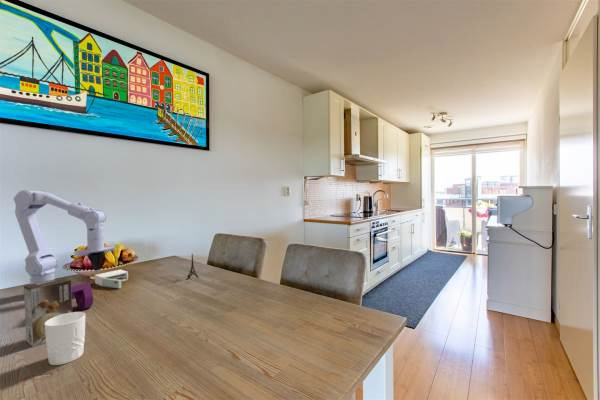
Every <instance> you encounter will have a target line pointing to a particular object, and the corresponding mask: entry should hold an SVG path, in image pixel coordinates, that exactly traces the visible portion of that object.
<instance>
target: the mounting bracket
mask: <svg viewBox="0 0 600 400" xmlns="http://www.w3.org/2000/svg"><path fill="white" fill-rule="evenodd" d="M71 290H72V300H74V299H75V303H76V305H77V308H78V309H80V310H82V311H83V310H86V309H90V308H91V307H92V306H93V303H94V294H93V290H92V286H91V282H89V281H88V282H85V283H81V284H76V285H73V286H72V285H71Z"/></svg>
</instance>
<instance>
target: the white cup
mask: <svg viewBox="0 0 600 400" xmlns="http://www.w3.org/2000/svg"><path fill="white" fill-rule="evenodd" d="M44 325H45V336H46V343H45V345H46V352H47V358H48V359H47V360H48V364H50V366H60V365H64V364H65V365H66V364H68V363H71V362H73V361H75V360H77V359H79V358H81V356H83V354H84V351H85V350H84V349H85V338H86V313H85V312H83V311H74V312H73V311H72V313H66V314H62V315H59V316H56V317H53V318H51V319H49V320H47V321H46V322H45V323H44Z"/></svg>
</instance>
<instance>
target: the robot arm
mask: <svg viewBox="0 0 600 400" xmlns="http://www.w3.org/2000/svg"><path fill="white" fill-rule="evenodd" d="M13 201H14V204H15V210H14V214H15V217H16V220H17V223H18V226H19V228H20V229H19V230H20V232H21V234H22V237H23V240H24V242H25V245H26V248H27V251H28V254H27V256H26V258H25V259H24V262H25V267H24V269H25V271H26V273H27V274H28V275H29V277H30V278H29V285H30V284H35V283H39V282H44V281H49V280H54V279H56V278H55V275H56V274H55V271H56V269H57V267H58V266H59V263H60V262H59V259H58V257H57V256H56V255H55V253H54V252H53V251H52V250H50V249H48V248H47V247H48V246H47V245H46V242H45V239H44V237H43V233H42V231H41V229H40V225H39V222H38V220H37V216H36V213H37V212H38V211H39V210H41V209H42V208H43V207H45V206H46V205H47V204H48V205H51V206H53V207H57V208H59V209H61V210H65V211H67V214H68V215H69V216H71V217H74V218H76V219H79V220H81V221H83V223H84V224H85V225H86V236H87V237H86V240H87V241H86V242H87V245H86V246H87V248H86V249H83V250H76V251H74V252H73V253H74V254H73V255H74V256H73V257H75V258H78V257H81V256H87V258H88V259H89V261H90V263H91V265H92V268H93V271H100V268H101V266H102V265H101V264H102V262H103V260H104V258H105V257H106V252H115V251H116V250H117V248H116V246H115V245H112V246H105V232H104V226H105V225H104V222H105V221H106V220H107V215H106V213H105V212H104V211H103V210H101V209H99V210H95V208H94V207H88V206H86V205H85V204H84V203H83V202H74V203H73V202H70V201H67V200H65V199H64V198H61V197H59V196H57V195H55V194H53V193H52V192H48V191H46V190H27V189H24V190H22V189H21V190H20V191H18V192H17V193H16V195H15V196H14V197H13Z"/></svg>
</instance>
